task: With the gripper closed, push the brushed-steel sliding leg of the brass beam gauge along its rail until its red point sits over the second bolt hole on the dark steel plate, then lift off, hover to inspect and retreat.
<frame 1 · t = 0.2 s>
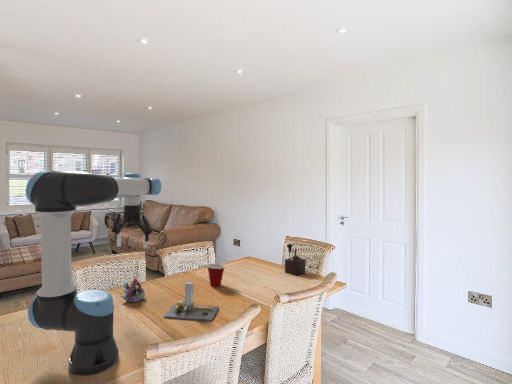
hand: (132, 247, 156), 28 cm above the table, fingers open, 13 cm apart
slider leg: (187, 297, 147), point 7 cm above the table, slide at 4.0 cm
gauge rail: (192, 307, 147), on the bolt plate, point 2 cm above the table
dark box with lever: (292, 272, 214), on the table
plastic cup: (215, 285, 184), on the table
bolt plate: (192, 312, 146), on the table
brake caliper: (133, 300, 160), on the table
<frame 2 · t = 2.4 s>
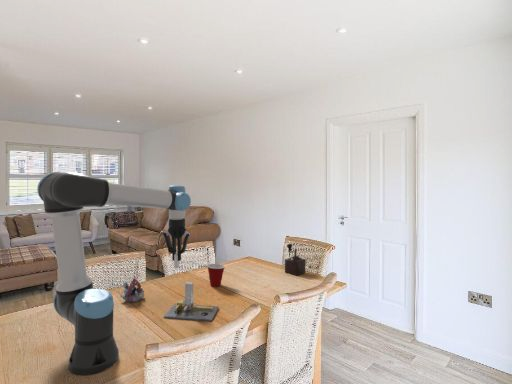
hand: (176, 267, 149), 20 cm above the table, fingers closed
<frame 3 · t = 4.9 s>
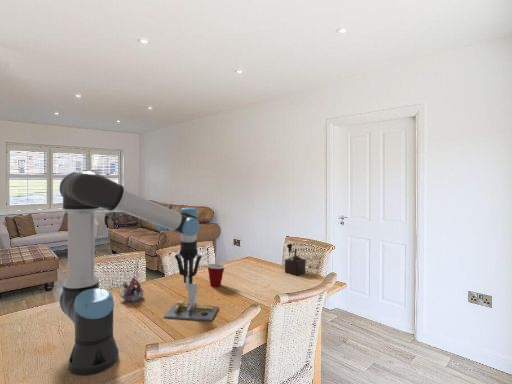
hand: (188, 289, 149), 10 cm above the table, fingers closed
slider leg: (191, 297, 147), point 7 cm above the table, slide at 5.7 cm, touching gripper
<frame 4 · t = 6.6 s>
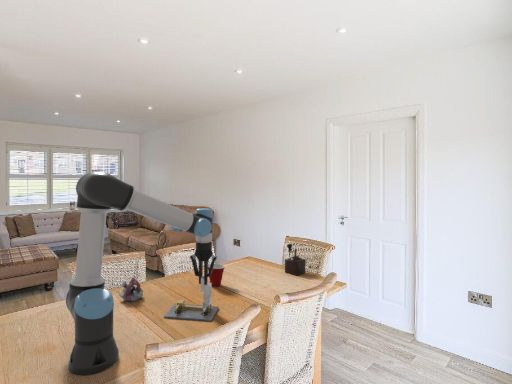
hand: (203, 290, 148), 10 cm above the table, fingers closed
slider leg: (206, 298, 146), point 7 cm above the table, slide at 13.0 cm, touching gripper
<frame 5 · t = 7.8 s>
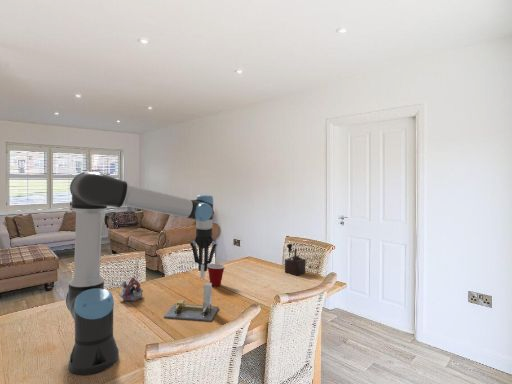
hand: (202, 277, 147), 16 cm above the table, fingers closed
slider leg: (206, 298, 146), point 7 cm above the table, slide at 13.0 cm
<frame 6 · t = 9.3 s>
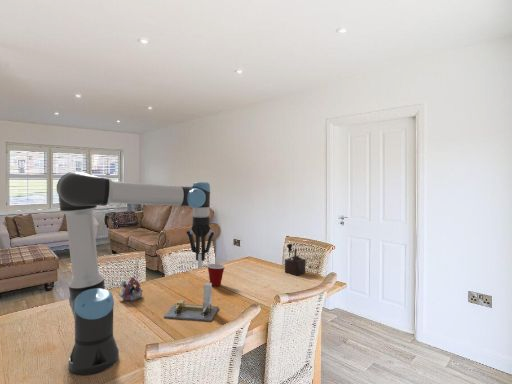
hand: (200, 267, 143), 22 cm above the table, fingers closed
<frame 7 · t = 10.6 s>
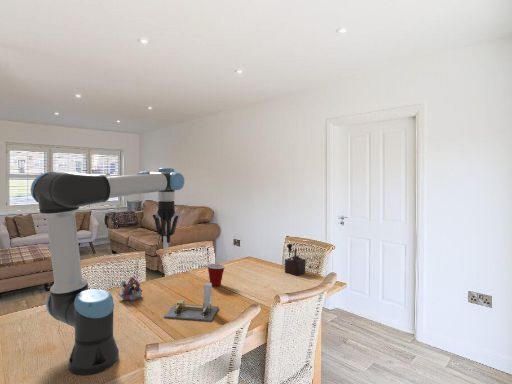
hand: (165, 249, 151), 28 cm above the table, fingers closed
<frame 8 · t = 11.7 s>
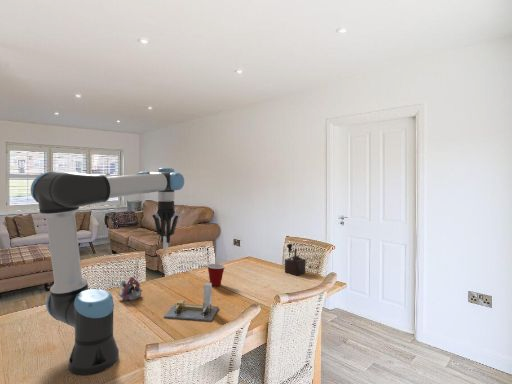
hand: (165, 249, 151), 28 cm above the table, fingers closed
at the end: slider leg slide at 13.0 cm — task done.
